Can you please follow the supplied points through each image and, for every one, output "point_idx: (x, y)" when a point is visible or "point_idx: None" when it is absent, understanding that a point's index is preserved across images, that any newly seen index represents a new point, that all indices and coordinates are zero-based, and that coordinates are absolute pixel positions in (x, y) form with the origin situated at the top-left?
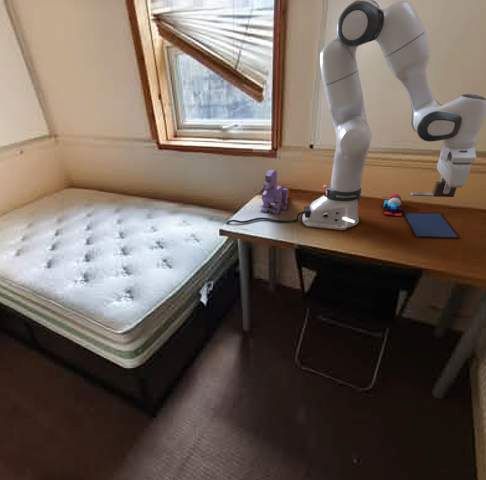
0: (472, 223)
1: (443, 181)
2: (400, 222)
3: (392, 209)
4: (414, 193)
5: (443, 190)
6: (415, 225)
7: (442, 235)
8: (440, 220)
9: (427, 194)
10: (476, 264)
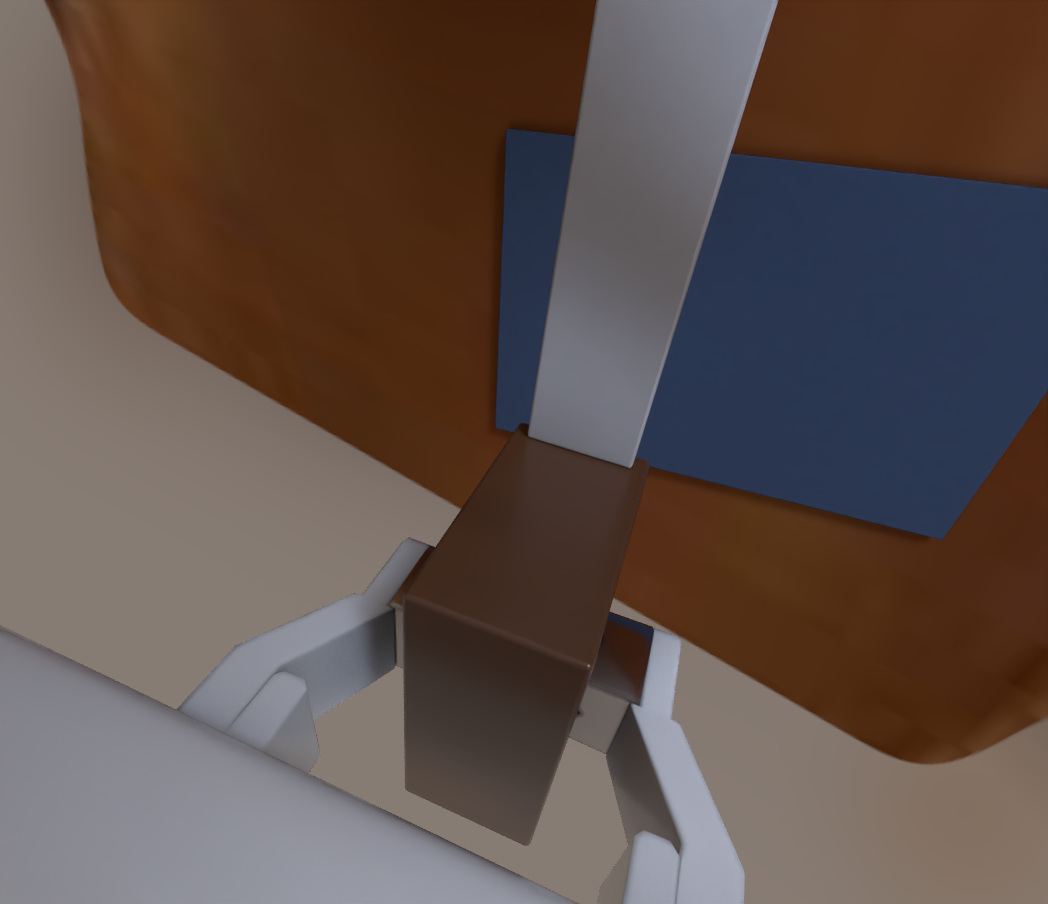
0: (705, 611)
1: (637, 776)
2: (910, 50)
3: None
4: (672, 56)
5: (399, 568)
6: (744, 206)
7: (520, 349)
8: (794, 469)
9: (562, 348)
10: (221, 352)
